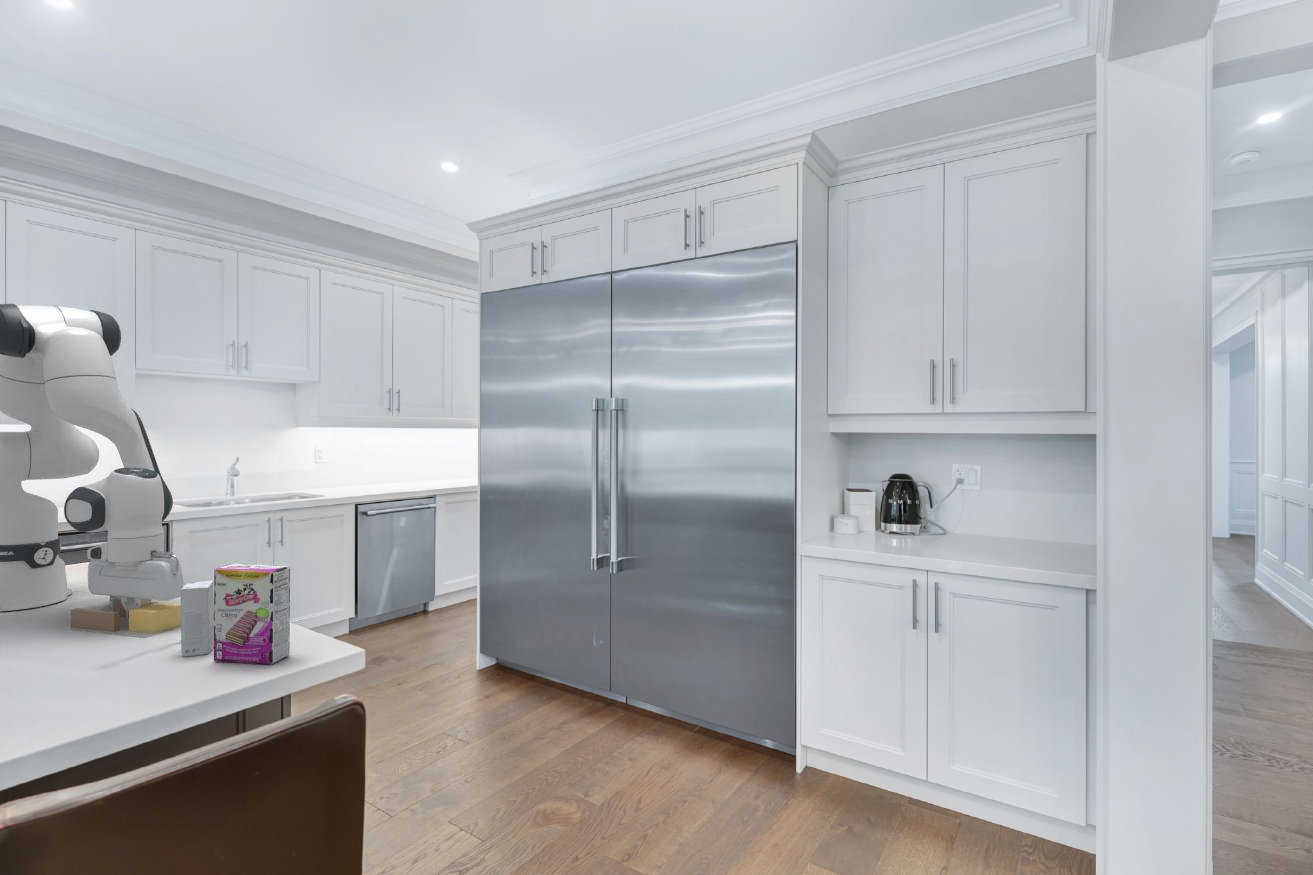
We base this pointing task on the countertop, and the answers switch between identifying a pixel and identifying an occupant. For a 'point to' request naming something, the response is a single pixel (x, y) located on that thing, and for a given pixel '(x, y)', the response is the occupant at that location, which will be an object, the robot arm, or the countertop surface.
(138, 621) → the ochre block
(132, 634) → the chute
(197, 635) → the skincare box
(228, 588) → the candy bar box
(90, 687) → the countertop surface
